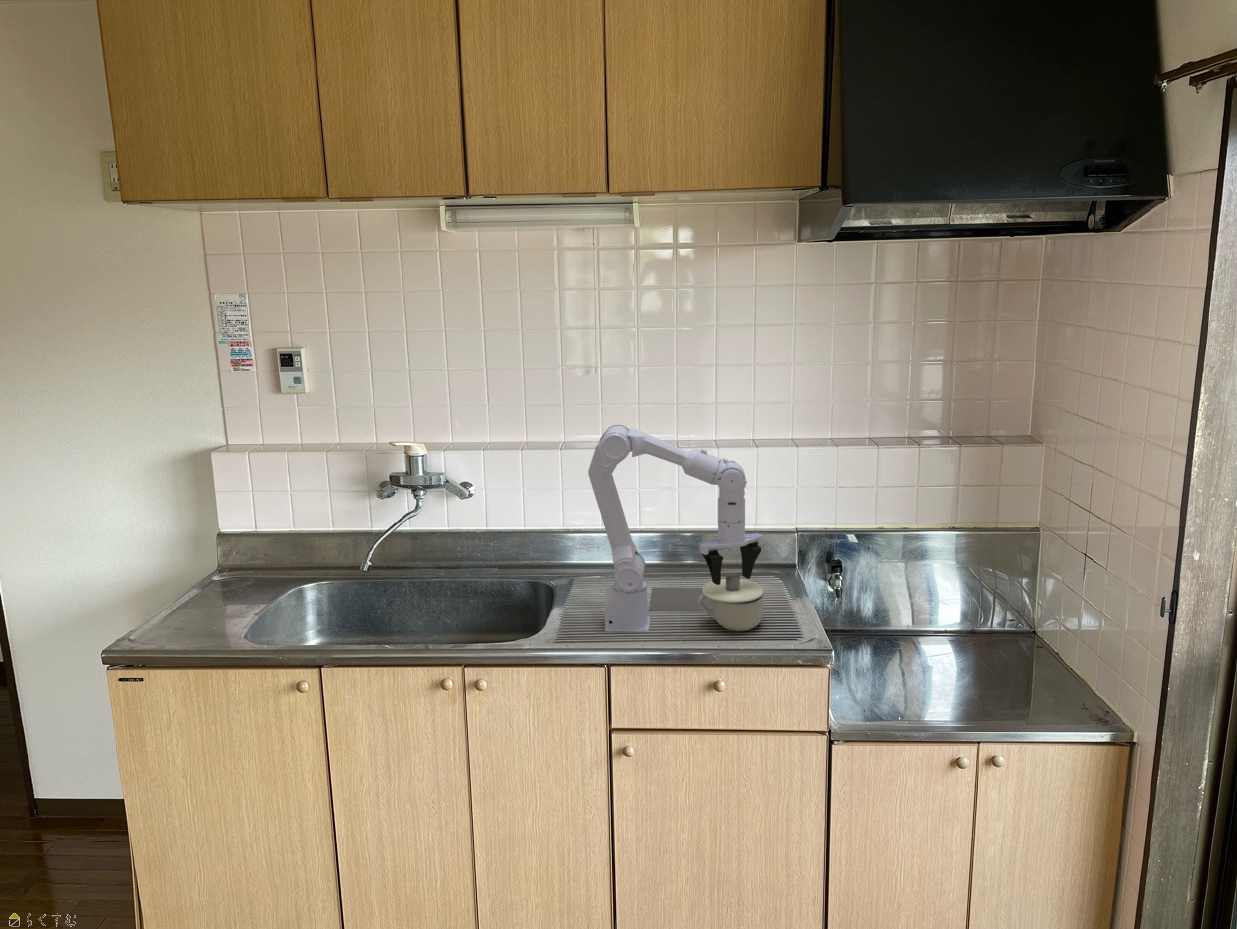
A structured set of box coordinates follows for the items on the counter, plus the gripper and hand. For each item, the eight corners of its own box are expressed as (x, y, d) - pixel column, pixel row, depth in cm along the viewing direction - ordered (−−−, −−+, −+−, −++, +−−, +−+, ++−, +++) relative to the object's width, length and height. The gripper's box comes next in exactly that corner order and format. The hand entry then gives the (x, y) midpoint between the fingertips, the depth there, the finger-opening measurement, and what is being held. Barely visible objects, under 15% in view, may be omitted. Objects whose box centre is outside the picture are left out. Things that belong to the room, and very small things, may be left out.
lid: (698, 600, 193) (697, 584, 192) (707, 579, 205) (707, 564, 205) (760, 604, 190) (760, 588, 189) (765, 583, 202) (766, 567, 201)
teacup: (766, 619, 202) (766, 585, 201) (759, 639, 192) (760, 603, 191) (704, 614, 206) (704, 580, 205) (694, 633, 196) (694, 598, 194)
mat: (649, 612, 208) (649, 610, 208) (652, 589, 223) (652, 587, 223) (715, 612, 207) (715, 611, 207) (714, 589, 222) (714, 587, 221)
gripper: (749, 510, 201) (749, 569, 204) (692, 520, 195) (692, 580, 198) (768, 518, 195) (767, 578, 198) (709, 528, 189) (709, 590, 191)
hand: (731, 580), depth 197 cm, fingers open, 7 cm apart
